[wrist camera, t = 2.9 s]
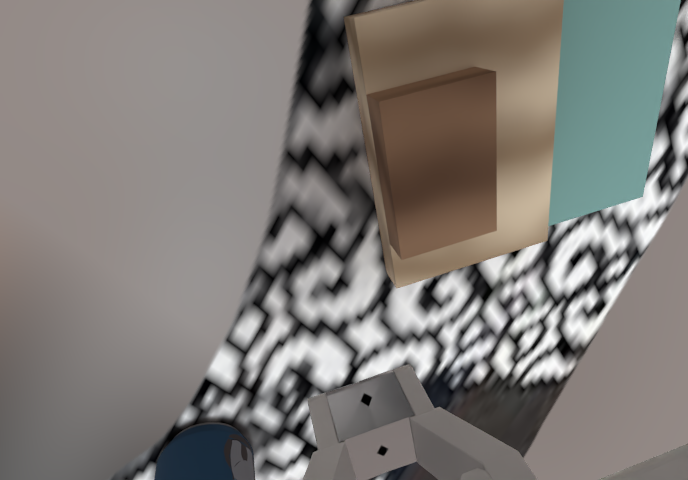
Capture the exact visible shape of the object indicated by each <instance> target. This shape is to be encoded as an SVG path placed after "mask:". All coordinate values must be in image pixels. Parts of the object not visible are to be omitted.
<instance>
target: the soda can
mask: <svg viewBox="0 0 688 480" xmlns="http://www.w3.org/2000/svg"><path fill="white" fill-rule="evenodd" d="M155 480H255V471H254V457H253V450H252V447H251V445H250V444H249V442H248V441H247V440H246V438H245V437H244V436H243V435H242V434H241V433H240V432H239V431H238V430H237V429H236V428H234V427H233V426H231V425H228V424H225V423H220V422H206V423H200V424H196V425H193V426H190V427H188V428H186V429H184V430H183V431H181V432H180V433H178V434H177V435H176V436H175V437H174V438H173V440H172V441H171V442H170V443H169V444H168V445H167V446H166V448H165V449H164V450H163V452H162V453H161V455H160V457H159V459H158V461H157V466H156V473H155Z"/></svg>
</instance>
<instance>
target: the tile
mask: <svg viewBox="0 0 688 480" xmlns="http://www.w3.org/2000/svg"><path fill="white" fill-rule="evenodd" d="M366 96H367V102H368V109H369V115H370V121H371V128H372V134H373V140H374V147H375V153H376V159H377V166H378V172H379V179H380V185H381V191H382V198H383V204H384V210H385V217H386V223H387V229H388V236H389V242H390V245H391V246H392V248H393V249H394V250H395V252H396V253H397V255H398V256H399V257H400V259H401V260H404V259H407V258H410V257H414V256H417V255H420V254H423V253H427V252H430V251H433V250H436V249H440V248H443V247H446V246H449V245H452V244H456V243H459V242H462V241H465V240H469V239H472V238H475V237H478V236H481V235H485V234H488V233H491V232H494V231H497V111H496V71H492V70H488V69H483V68H479V67H472V68H468V69H464V70H460V71H456V72H452V73H448V74H445V75H441V76H437V77H433V78H429V79H425V80H421V81H417V82H413V83H410V84H406V85H402V86H398V87H394V88H390V89H386V90H382V91H378V92H375V93H371V94H367V95H366Z"/></svg>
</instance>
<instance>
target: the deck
mask: <svg viewBox="0 0 688 480" xmlns="http://www.w3.org/2000/svg"><path fill="white" fill-rule="evenodd" d="M563 4H564V0H415V1H410V2H406V3H402V4H397V5H393V6H389V7H384V8H380V9H376V10H372V11H367V12H363V13H359V14H354V15H350V16H346V17H344V22H345V28H346V34H347V40H348V46H349V52H350V58H351V64H352V70H353V76H354V82H355V88H356V93H357V99H358V105H359V111H360V117H361V123H362V129H363V135H364V141H365V147H366V153H367V159H368V165H369V171H370V177H371V182H372V188H373V194H374V200H375V206H376V212H377V218H378V224H379V230H380V236H381V242H382V248H383V254H384V260H385V265H386V271H387V274H388V275H389V277H390V278H391V280H392V282H393V283H394V285H395V286H396V288H400V287H403V286H406V285H409V284H412V283H416V282H419V281H422V280H425V279H428V278H431V277H434V276H438V275H441V274H444V273H447V272H450V271H453V270H456V269H460V268H463V267H466V266H469V265H472V264H475V263H478V262H482V261H485V260H488V259H491V258H494V257H497V256H500V255H504V254H507V253H510V252H513V251H516V250H519V249H522V248H526V247H529V246H532V245H535V244H538V243H541V242H544V241H547V236H548V222H549V207H550V193H551V178H552V164H553V149H554V135H555V120H556V106H557V91H558V77H559V62H560V48H561V33H562V19H563ZM472 67H479V68H483V69H488V70H492V71H496V111H497V231H494V232H491V233H488V234H485V235H481V236H478V237H475V238H472V239H469V240H465V241H462V242H459V243H456V244H452V245H449V246H446V247H443V248H440V249H436V250H433V251H430V252H427V253H423V254H420V255H417V256H414V257H410V258H407V259H404V260H401V259H400V257H399V256H398V255H397V253H396V252H395V250H394V249H393V248H392V246H391V245H390V242H389V236H388V229H387V223H386V217H385V210H384V204H383V198H382V191H381V185H380V179H379V172H378V166H377V159H376V153H375V147H374V140H373V134H372V128H371V121H370V115H369V109H368V102H367V96H366V95H367V94H371V93H375V92H378V91H382V90H386V89H390V88H394V87H398V86H402V85H406V84H410V83H413V82H417V81H421V80H425V79H429V78H433V77H437V76H441V75H445V74H448V73H452V72H456V71H460V70H464V69H468V68H472Z"/></svg>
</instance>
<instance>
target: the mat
mask: <svg viewBox="0 0 688 480" xmlns="http://www.w3.org/2000/svg"><path fill="white" fill-rule="evenodd" d="M680 1H681V0H564V4H563V19H562V33H561V48H560V62H559V77H558V91H557V106H556V120H555V135H554V149H553V164H552V178H551V193H550V207H549V222H548V226H551V225H554V224H557V223H560V222H563V221H567V220H570V219H573V218H576V217H579V216H582V215H586V214H589V213H592V212H595V211H598V210H602V209H605V208H608V207H611V206H614V205H618V204H621V203H624V202H627V201H630V200H634V199H637V198H640V197H643V192H644V187H645V182H646V177H647V172H648V167H649V161H650V156H651V151H652V146H653V141H654V136H655V130H656V125H657V120H658V115H659V110H660V105H661V99H662V94H663V89H664V84H665V79H666V74H667V68H668V63H669V58H670V53H671V48H672V43H673V37H674V32H675V27H676V22H677V17H678V12H679V6H680Z"/></svg>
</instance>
